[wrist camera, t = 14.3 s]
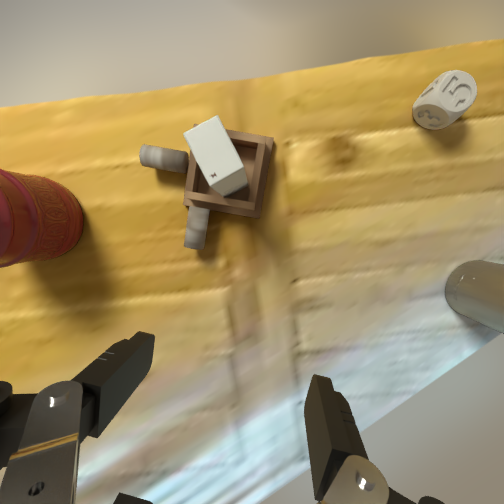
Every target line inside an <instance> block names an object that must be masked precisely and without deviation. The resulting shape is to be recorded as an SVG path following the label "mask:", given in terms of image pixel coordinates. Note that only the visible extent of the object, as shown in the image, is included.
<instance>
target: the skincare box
mask: <svg viewBox="0 0 504 504" xmlns="http://www.w3.org/2000/svg"><path fill="white" fill-rule="evenodd" d="M183 135H184V137H185V139H186V141H187V143H188V145H189V147H190V149H191V151H192V153H193V155H194V157H195V159H196V161H197V163H198V165H199V167H200V169H201V171H202V173H203V174H204V176H205V178H206V180H207V182H208V184H209V186H210V187H211V188H213V189H214V190H215V191H216V192H218V193H219V194H220V195H221V196H223V197H224V198H227V197H229V196H231V195H233V194H235V193H236V192H238V191H240V190H242V189H244V188H245V187H248V181H247V177H246V173H245V169H244V166H243V163H242V161H241V159H240V157H239V155H238V153H237V151H236V149H235V147H234V145H233V143H232V142H231V140H230V138H229V136H228V134H227V132H226V130H225V128H224V126H223V124H222V122H221V121H220V118H219V116H218V115H216V116H214V117H212V118H211V119H209V120H207V121H205V122H203V123H201V124H199V125H198V126H196V127H194V128H192V129H190V130H188V131H187V132H185V133H184V134H183Z"/></svg>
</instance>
